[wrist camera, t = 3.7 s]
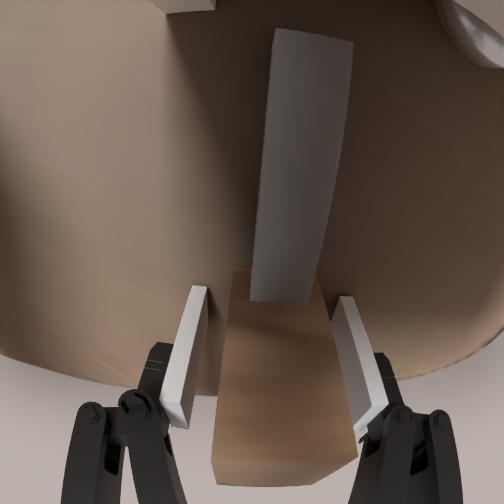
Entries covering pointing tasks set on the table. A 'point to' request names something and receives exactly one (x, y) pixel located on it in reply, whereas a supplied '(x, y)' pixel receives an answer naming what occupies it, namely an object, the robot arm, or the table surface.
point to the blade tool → (288, 286)
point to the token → (471, 34)
